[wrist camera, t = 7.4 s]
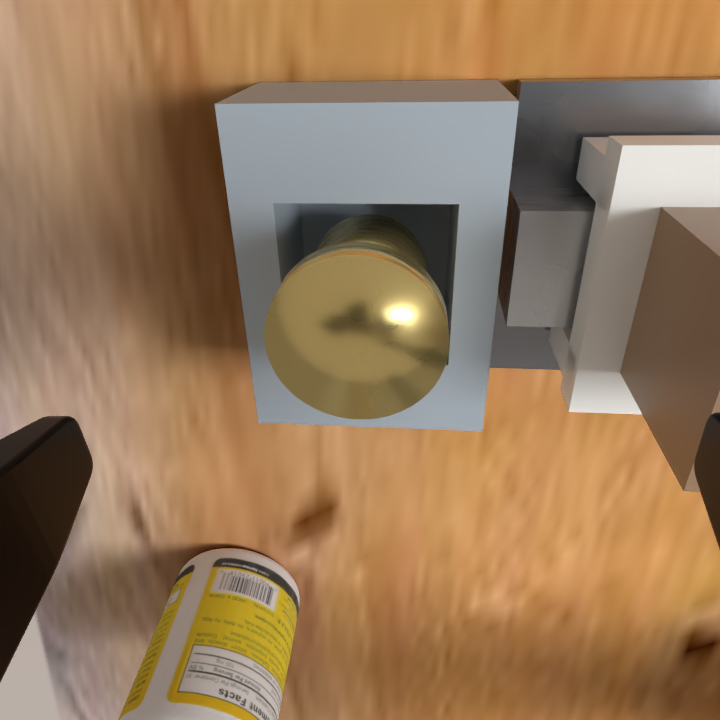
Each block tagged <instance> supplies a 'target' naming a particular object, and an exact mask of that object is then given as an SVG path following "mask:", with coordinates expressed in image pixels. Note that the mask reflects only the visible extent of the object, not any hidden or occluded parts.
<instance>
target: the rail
mask: <svg viewBox="0 0 720 720" xmlns="http://www.w3.org/2000/svg"><path fill="white" fill-rule="evenodd" d="M516 99H517V100H518V101H519V106H518V115H517V124H516V133H515V142H514V151H513V160H512V169H511V178H510V187H509V196H508V205H507V214H506V223H505V232H504V241H503V250H502V259H501V268H500V277H499V286H498V295H497V304H496V313H495V322H494V331H493V340H492V349H491V358H490V368H522V369H556V370H560V367H559V365H558V362H557V359H556V357H555V354H554V352H553V349H552V346H551V344H550V341H549V336H550V330H551V327H564V328H572V327H573V322H574V317H575V311H576V306H577V301H578V295H579V290H580V285H581V280H582V274H583V269H584V264H585V259H586V253H587V248H588V243H589V237H590V232H591V227H592V222H593V216H594V211H595V206H596V202H595V200H594V199H593V198H592V197H591V196H590V195H589V194H588V192H587V191H586V190H585V189H584V188H583V187H582V186H581V184H580V183H579V182H578V181H577V180H576V176H577V170H578V164H579V158H580V152H581V146H582V140H583V137H609V136H650V135H720V77H655V78H574V79H518V82H517V92H516Z"/></svg>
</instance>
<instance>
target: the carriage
mask: <svg viewBox="0 0 720 720" xmlns="http://www.w3.org/2000/svg"><path fill="white" fill-rule="evenodd" d="M576 180H577V181H578V182H579V183H580V184H581V186H582V187H583V188H584V189H585V190H586V191H587V192H588V194H589V195H590V196H591V197H592V198H593V199H594V200H595V202H596V206H595V211H594V216H593V222H592V227H591V232H590V237H589V243H588V248H587V253H586V259H585V264H584V269H583V274H582V280H581V285H580V290H579V295H578V301H577V306H576V311H575V317H574V322H573V327H572V328H564V327H551V330H550V336H549V341H550V344H551V346H552V349H553V352H554V354H555V357H556V359H557V362H558V365H559V367H560V370H561V373H562V375H563V380H562V385H561V392H562V395H563V397H564V400H565V403H566V406H567V408H568V411H569V412H589V413H617V414H642V415H643V417H644V418H645V420H646V422H647V424H648V426H649V428H650V430H651V431H652V433H653V435H654V437H655V439H656V441H657V443H658V444H659V446H660V448H661V450H662V452H663V454H664V456H665V457H666V459H667V461H668V463H669V465H670V467H671V469H672V470H673V472H674V474H675V476H676V478H677V480H678V482H679V483H680V485H681V487H682V489H683V491H692V492H700V489H699V486H698V483H697V480H696V477H695V472H694V460H695V456H696V453H697V449H698V446H699V443H700V439H701V436H702V433H703V430H704V426H705V423H706V421H707V419H708V417H709V416H710V415H712V414H714V413H717V412H720V135H650V136H609V137H583V140H582V146H581V152H580V158H579V164H578V170H577V176H576Z"/></svg>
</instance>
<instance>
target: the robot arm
mask: <svg viewBox="0 0 720 720" xmlns="http://www.w3.org/2000/svg"><path fill="white" fill-rule="evenodd" d="M92 469H93V462H92V457H91V454H90V452H89V449H88V446H87V444H86V441H85V439H84V436H83V434H82V431H81V429H80V426H79V424H78V422H77V421H76V420H75V419H74V418H72V417H70V416H47V417H43V418H41V419H39V420H37V421H35V422H33V423H31V424H29V425H27V426H25V427H23V428H22V429H20V430H18V431H16V432H14V433H12V434H10V435H8V436H6V437H4V438H3V439H1V440H0V682H1V680H2V678H3V675H4V674H5V672H6V670H7V667H8V666H9V664H10V662H11V659H12V657H13V655H14V653H15V651H16V649H17V647H18V645H19V643H20V641H21V639H22V637H23V635H24V633H25V631H26V629H27V627H28V625H29V623H30V621H31V619H32V617H33V615H34V613H35V611H36V609H37V607H38V605H39V603H40V601H41V598H42V596H43V594H44V592H45V590H46V588H47V586H48V584H49V582H50V580H51V578H52V576H53V574H54V571H55V569H56V567H57V565H58V563H59V560H60V558H61V555H62V553H63V550H64V548H65V545H66V542H67V540H68V537H69V534H70V531H71V529H72V526H73V523H74V521H75V518H76V515H77V512H78V510H79V507H80V504H81V502H82V499H83V496H84V493H85V491H86V488H87V485H88V483H89V480H90V477H91V474H92ZM694 472H695V477H696V480H697V483H698V486H699V489H700V492H701V495H702V498H703V501H704V504H705V507H706V510H707V513H708V516H709V519H710V522H711V525H712V528H713V531H714V534H715V537H716V540H717V543H718V546H719V549H720V412H717V413H714V414H712V415H710V416H709V417H708V419H707V421H706V423H705V426H704V430H703V433H702V436H701V439H700V443H699V446H698V449H697V453H696V456H695V460H694Z"/></svg>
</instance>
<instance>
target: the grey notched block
mask: <svg viewBox="0 0 720 720" xmlns="http://www.w3.org/2000/svg"><path fill="white" fill-rule="evenodd" d="M518 106H519V101H518V100H517V99H516V98H515V97H514V96H513V95H512V94H511V93H510V92H509V91H508V90H507V89H506V88H505V87H504V86H503V85H502V84H501V83H500V82H499V81H498V80H497V79H493V80H411V81H330V82H259V83H257V84H255V85H253V86H251V87H249V88H246V89H244V90H242V91H240V92H238V93H236V94H234V95H232V96H230V97H228V98H226V99H224V100H222V101H220V102H218V103H216V104H215V111H216V118H217V125H218V133H219V140H220V147H221V155H222V162H223V169H224V176H225V184H226V191H227V198H228V205H229V213H230V220H231V227H232V235H233V242H234V249H235V256H236V264H237V271H238V278H239V285H240V293H241V300H242V307H243V315H244V322H245V329H246V336H247V344H248V351H249V358H250V365H251V373H252V380H253V387H254V395H255V402H256V409H257V416H258V423H283V424H308V425H334V426H360V427H385V428H411V429H436V430H462V431H482V430H483V421H484V412H485V403H486V394H487V385H488V376H489V367H490V358H491V349H492V340H493V331H494V322H495V313H496V304H497V295H498V286H499V277H500V268H501V259H502V250H503V241H504V232H505V223H506V214H507V205H508V196H509V187H510V178H511V169H512V160H513V151H514V142H515V133H516V124H517V115H518ZM364 214H374V215H381V216H385V217H388V218H391V219H394V220H396V221H398V222H399V223H401V224H402V225H404V226H405V227H407V228H408V229H409V230H410V231H411V232H412V233H413V234H414V235H415V237H416V238H417V239H418V241H419V242H420V244H421V246H422V248H423V251H424V254H425V258H426V265H427V273H428V274H429V275H430V276H431V278H432V279H433V281H434V282H435V284H436V285H437V287H438V288H439V291H440V293H441V295H442V297H443V300H444V303H445V306H446V311H447V318H448V330H449V352H448V359H447V362H446V365H445V368H444V370H443V373H442V375H441V377H440V378H439V380H438V382H437V383H436V385H435V386H434V387H433V388H432V389H431V391H430V392H429V393H428V394H427V395H426V396H425V397H423V398H422V399H421V400H420V401H419V402H417V403H416V404H414V405H413V406H411V407H409V408H407V409H405V410H403V411H401V412H399V413H396V414H393V415H390V416H386V417H382V418H376V419H347V418H341V417H336V416H333V415H330V414H326V413H324V412H321V411H319V410H317V409H314V408H313V407H311V406H309V405H307V404H305V403H304V402H303V401H301V400H300V399H298V398H297V397H296V396H295V395H293V394H292V393H291V392H290V391H289V390H288V389H287V388H286V387H285V386H284V384H283V383H282V382H281V381H280V379H279V378H278V377H277V375H276V374H275V372H274V370H273V368H272V366H271V364H270V362H269V359H268V356H267V353H266V348H265V343H264V327H265V320H266V316H267V312H268V310H269V307H270V305H271V303H272V300H273V298H274V296H275V294H276V292H277V290H278V289H279V287H280V285H281V283H282V281H283V280H284V278H285V276H286V275H287V274H288V273H289V271H290V270H291V269H292V268H293V267H294V266H295V265H296V264H297V263H298V262H299V261H301V260H302V259H303V258H305V257H306V256H308V255H309V254H311V253H313V252H315V251H317V248H318V246H319V244H320V242H321V240H322V239H323V237H324V236H325V235H326V233H327V232H328V231H329V230H330V229H331V228H332V227H333V226H335V225H336V224H338V223H339V222H341V221H343V220H345V219H347V218H350V217H353V216H357V215H364Z"/></svg>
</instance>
